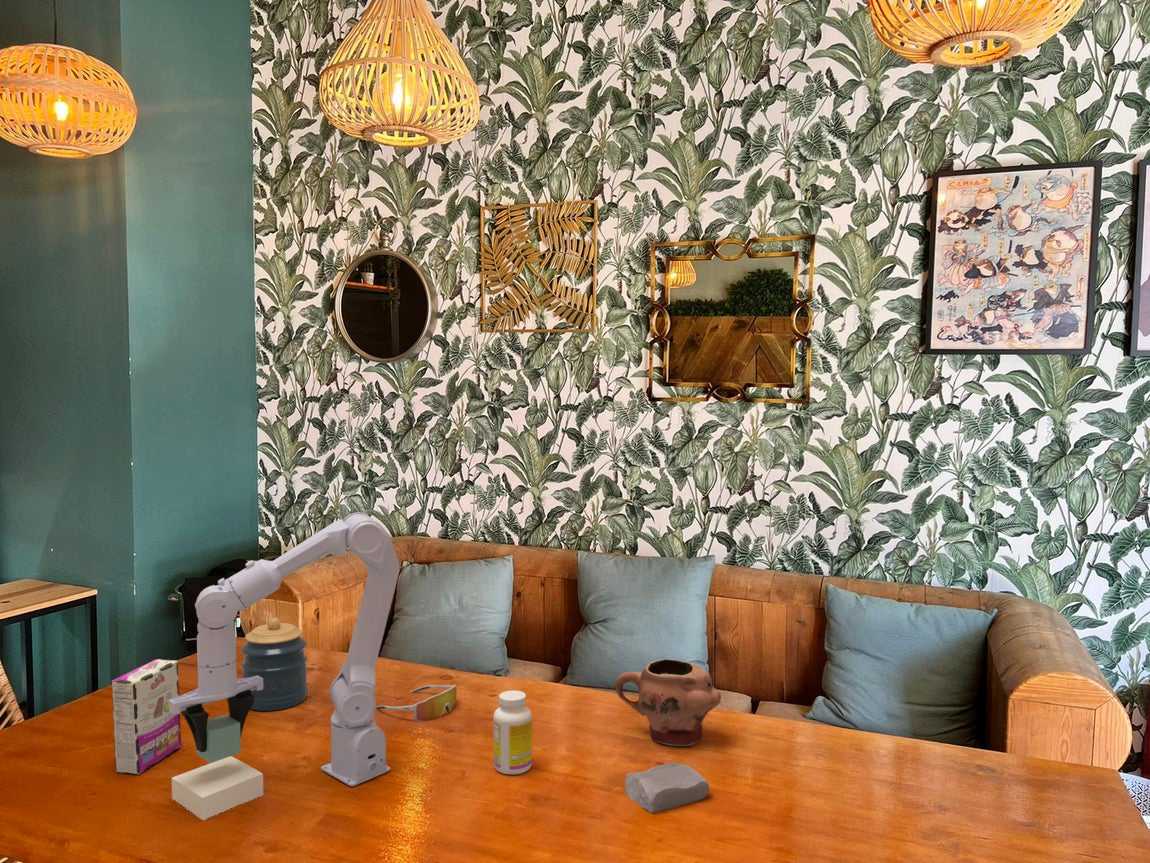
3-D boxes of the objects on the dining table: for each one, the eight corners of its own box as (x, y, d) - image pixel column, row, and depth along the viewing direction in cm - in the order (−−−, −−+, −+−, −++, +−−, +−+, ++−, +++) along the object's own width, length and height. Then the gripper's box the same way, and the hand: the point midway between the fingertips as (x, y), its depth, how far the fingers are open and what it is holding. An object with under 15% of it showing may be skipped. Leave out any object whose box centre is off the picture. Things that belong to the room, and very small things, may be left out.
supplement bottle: (538, 763, 146) (538, 691, 145) (520, 779, 140) (520, 705, 139) (505, 755, 148) (505, 685, 148) (486, 771, 142) (486, 698, 142)
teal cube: (240, 752, 134) (240, 722, 133) (209, 763, 130) (209, 732, 130) (226, 743, 137) (226, 714, 137) (196, 753, 133) (195, 723, 133)
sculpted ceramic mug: (610, 746, 152) (610, 672, 151) (618, 720, 164) (618, 651, 163) (720, 755, 149) (721, 680, 148) (720, 727, 161) (721, 657, 160)
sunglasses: (425, 728, 160) (422, 702, 160) (369, 722, 168) (367, 697, 168) (471, 704, 172) (468, 680, 172) (417, 699, 180) (415, 676, 180)
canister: (262, 687, 181) (260, 608, 180) (318, 690, 179) (317, 610, 178) (229, 710, 168) (227, 625, 167) (289, 714, 166) (288, 628, 165)
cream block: (263, 797, 134) (262, 773, 134) (203, 823, 126) (202, 797, 126) (231, 778, 140) (230, 755, 140) (172, 802, 132) (171, 777, 132)
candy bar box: (158, 745, 152) (155, 658, 151) (182, 747, 151) (180, 659, 150) (112, 773, 141) (109, 679, 140) (138, 776, 140) (135, 681, 139)
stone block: (619, 801, 136) (651, 817, 128) (617, 770, 137) (649, 784, 128) (678, 787, 142) (714, 802, 133) (676, 758, 142) (711, 771, 134)
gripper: (248, 645, 141) (249, 723, 141) (159, 667, 130) (161, 751, 131) (269, 655, 136) (270, 735, 137) (179, 678, 125) (181, 765, 126)
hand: (218, 744), depth 133 cm, fingers closed on teal cube, 5 cm apart
